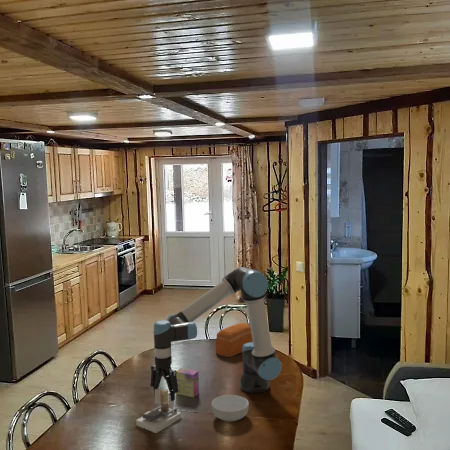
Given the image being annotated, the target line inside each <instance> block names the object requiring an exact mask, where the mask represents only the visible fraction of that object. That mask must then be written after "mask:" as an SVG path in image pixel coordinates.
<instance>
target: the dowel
mask: <svg viewBox="0 0 450 450" xmlns="http://www.w3.org/2000/svg"><path fill="white" fill-rule="evenodd" d="M159 403H160V406H161V411H162V412H165V413H166V412H167V411H169V409H170V408H169V389H168V388H163V389H160V402H159ZM168 415H169V414H168ZM163 416H164V415H163Z"/></svg>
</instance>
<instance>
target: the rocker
mask: <svg viewBox="0 0 450 450" xmlns="http://www.w3.org/2000/svg"><path fill="white" fill-rule="evenodd" d="M161 416H163V415H162V412H157V411H152V410H148V411H147V412H144V413H143V414H142V415H141V417H143V418H144V419H153V420H156V419H158V418H159V417H161Z"/></svg>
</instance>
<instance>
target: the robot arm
mask: <svg viewBox="0 0 450 450" xmlns="http://www.w3.org/2000/svg"><path fill="white" fill-rule="evenodd" d="M268 281H269V280H268V279H267V277H266V276H265V274H264V273H262V272H261V271H259V270H257V269H256V270H255V269H252V268H250V267H249V266H248V267H247V266H242V267H241V266H240V267H238V268H236V269H234V270H232V271H231V272H229V273H228V274H226V275H225V276H224V277H222V279H221V281H220V282H219V283H218V284H216V285H215V286H214V287H212V288H211V289H209V290H208V291H206V292H205V293H204V294H202V295H200V297H198V298H196V300H194V301H193V302H191V304H189V305H188V306H186V307H184V309H182V310H181V311H179V312H177V313H173V314H170V315H169V316H168V317H166V318H167V319H166V320H163V319H162V320H157V321H156V322H154V324H153V344H154V345H153V347H154V350H153V351H154V364H153V365H151V366H150V369H151V370H150V372H151V373H150V374H151V375H150V384H149V385H150V387H152V388H153V394H154V399H155V400H154V401H155V402H154V403H155V404H156V405H157V404H158V403H161V402H160V390H161V387H160V384H161V381H162V377H163V379H164V380H165V381H166V386H167V389H168V401H169V409H171V408H172V407H175V400H176V393H177V392H178V384H177V377H176V373H177V370H176V369H174V370H173V369H172V362H173V360H172V357H173V356H172V343H173V342H180V341H188V340H189V341H190V340H192V339H193V340H194V339H196V338H197V335H198V327H197V324H196V322H195V321H196V320H197V319H198V318H200V317H201V316H202V315H204V314H205V313H207V312H208V311H209V310H211V309H213V307H215V306H216V305H217V304H219V303H220V302H222V301H223V300H224V299H227V297H229V296H230V295H235V294H236V293H237V292H240V295H241V299H242V301H243V302H244V303H245V304H246V310H247V316H248V320H249V325H250V328H251V334H252V339H253V342H250V343H246V344H244V345H243V350H242V374H241V378H240V381H239V388H240V389H241V391H243V392H246V393H251V394H257V393H259V394H260V393H263V392H266V391H267V390H269V388H270V382H269V381H271V380H275V379H276V378H277V377H278V376H279V375H280V373H281V371H282V362H281V361H280V359H279V358H278V357H277V352H276V347H274V346H272V340H271V335H270V329H269V323H268V317H267V310H266V306H265V305H266V304H265V298H266V297H267V290H268V289H269V282H268Z"/></svg>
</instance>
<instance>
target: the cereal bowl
mask: <svg viewBox="0 0 450 450" xmlns="http://www.w3.org/2000/svg"><path fill="white" fill-rule="evenodd" d="M249 408H250V405H249V400H248V398H245V397H244V396H241V395H236V394H223V395H220V396H217V397H215V398H213V400H212V401H211V410H212V413H213V415H214V416H215V417H216V418H218V419H219V420H221V421H224V422H235V421H238V420H239V421H240V420H241V419H243V418H244V417H245V416H246V415H247V413H248V411H249Z"/></svg>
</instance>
